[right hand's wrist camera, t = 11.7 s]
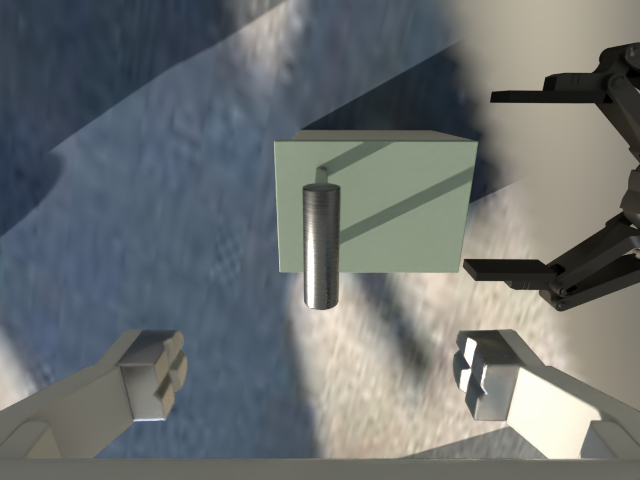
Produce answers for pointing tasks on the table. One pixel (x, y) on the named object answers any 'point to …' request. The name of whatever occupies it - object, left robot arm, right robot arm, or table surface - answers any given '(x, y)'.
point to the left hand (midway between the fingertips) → (482, 190)
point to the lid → (370, 208)
